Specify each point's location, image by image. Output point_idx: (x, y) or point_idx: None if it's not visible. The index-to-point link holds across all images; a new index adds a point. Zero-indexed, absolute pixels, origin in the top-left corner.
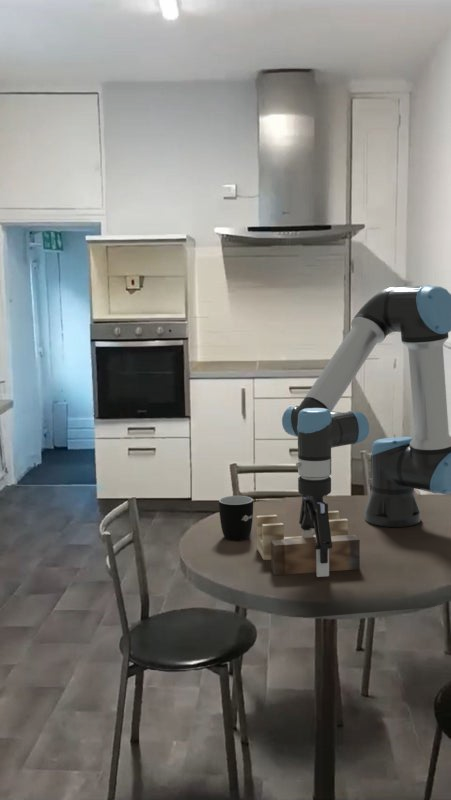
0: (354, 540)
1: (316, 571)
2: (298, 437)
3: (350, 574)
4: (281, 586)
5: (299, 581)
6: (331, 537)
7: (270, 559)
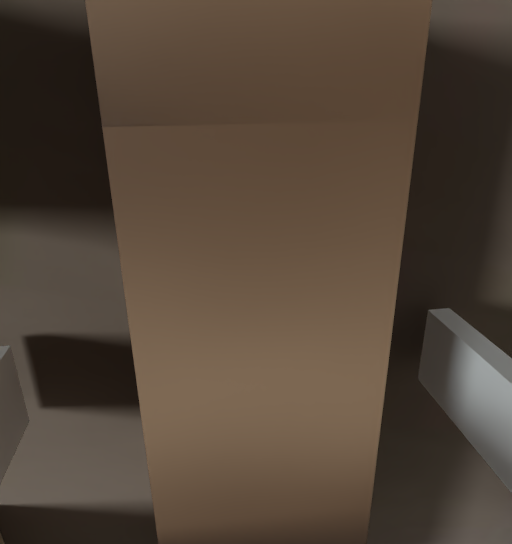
0: (422, 18)
1: (434, 397)
2: None
3: None
4: (438, 521)
5: (405, 448)
6: (205, 363)
7: None
